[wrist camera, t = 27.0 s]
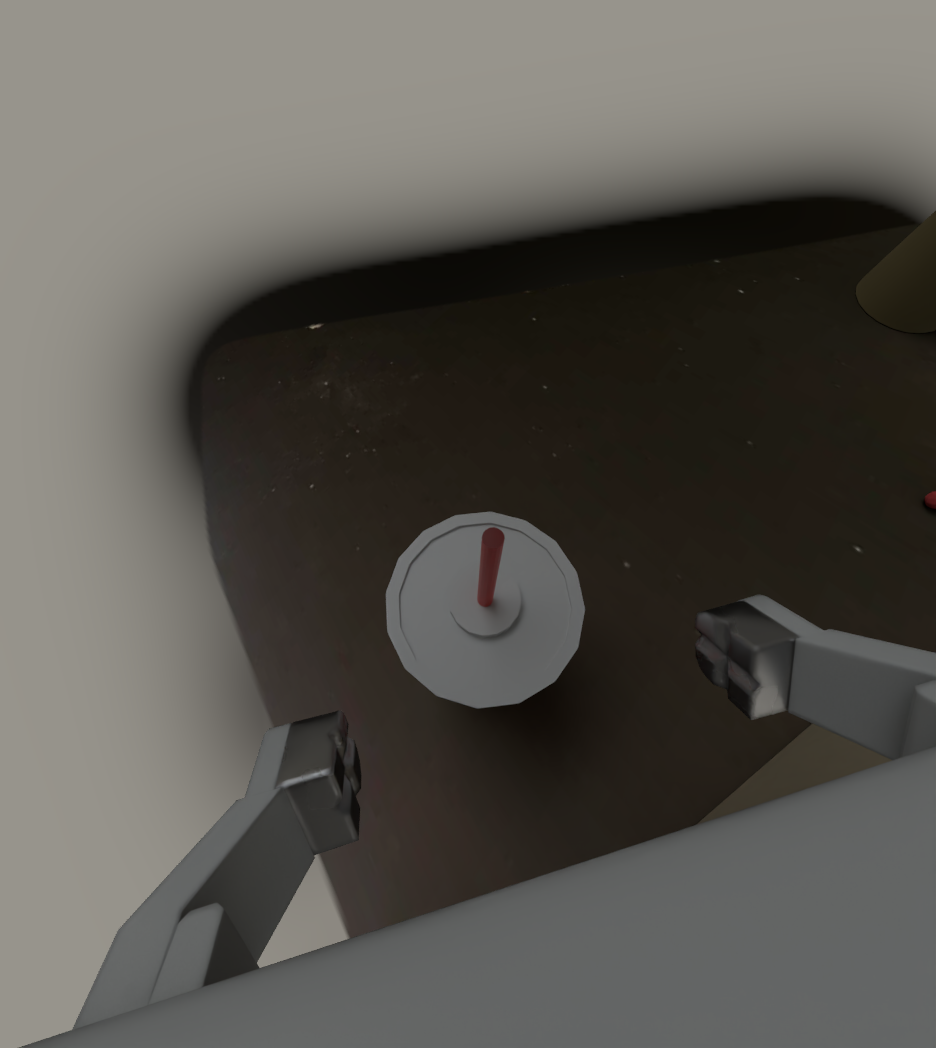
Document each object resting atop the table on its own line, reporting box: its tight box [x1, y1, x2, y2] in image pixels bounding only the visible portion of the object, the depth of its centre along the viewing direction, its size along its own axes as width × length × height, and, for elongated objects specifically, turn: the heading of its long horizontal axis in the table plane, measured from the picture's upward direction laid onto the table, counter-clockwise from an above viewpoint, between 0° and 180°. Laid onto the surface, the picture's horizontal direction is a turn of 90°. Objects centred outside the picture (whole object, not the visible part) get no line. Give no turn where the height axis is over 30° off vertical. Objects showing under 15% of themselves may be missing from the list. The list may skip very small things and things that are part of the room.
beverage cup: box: [386, 512, 585, 709], centre depth 16 cm, size 6×6×14 cm
